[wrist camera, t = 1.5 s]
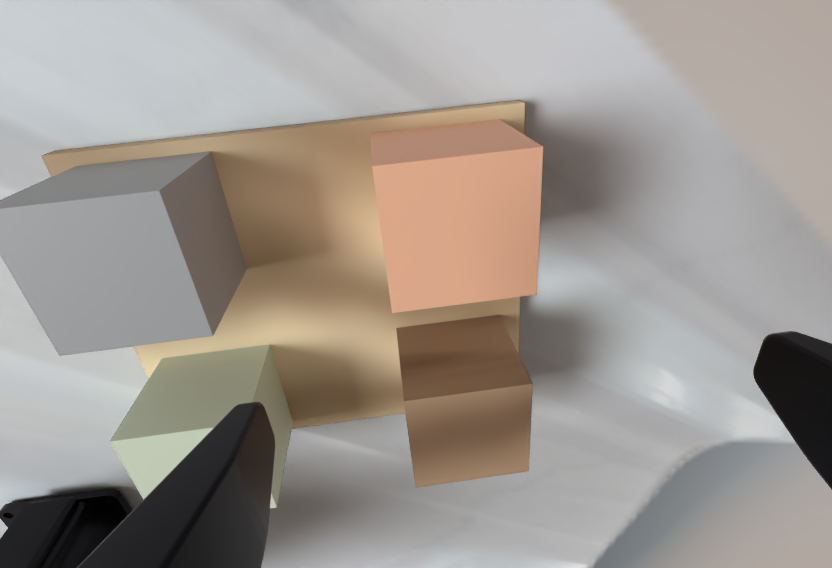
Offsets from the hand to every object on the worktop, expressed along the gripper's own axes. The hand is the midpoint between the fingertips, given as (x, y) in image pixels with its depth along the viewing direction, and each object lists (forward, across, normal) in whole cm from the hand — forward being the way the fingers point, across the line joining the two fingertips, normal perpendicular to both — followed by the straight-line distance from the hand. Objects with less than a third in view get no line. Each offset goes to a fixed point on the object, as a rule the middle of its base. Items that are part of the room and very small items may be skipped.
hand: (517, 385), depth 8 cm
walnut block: (+12, 0, +9) cm, 15 cm away
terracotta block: (+12, 0, 0) cm, 12 cm away
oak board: (+13, +5, +5) cm, 15 cm away
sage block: (+12, +11, +9) cm, 19 cm away
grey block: (+12, +11, 0) cm, 16 cm away
